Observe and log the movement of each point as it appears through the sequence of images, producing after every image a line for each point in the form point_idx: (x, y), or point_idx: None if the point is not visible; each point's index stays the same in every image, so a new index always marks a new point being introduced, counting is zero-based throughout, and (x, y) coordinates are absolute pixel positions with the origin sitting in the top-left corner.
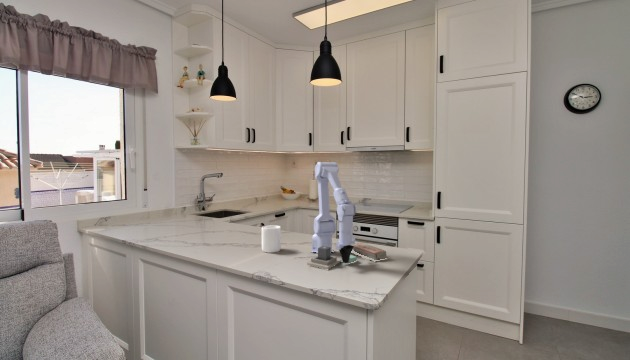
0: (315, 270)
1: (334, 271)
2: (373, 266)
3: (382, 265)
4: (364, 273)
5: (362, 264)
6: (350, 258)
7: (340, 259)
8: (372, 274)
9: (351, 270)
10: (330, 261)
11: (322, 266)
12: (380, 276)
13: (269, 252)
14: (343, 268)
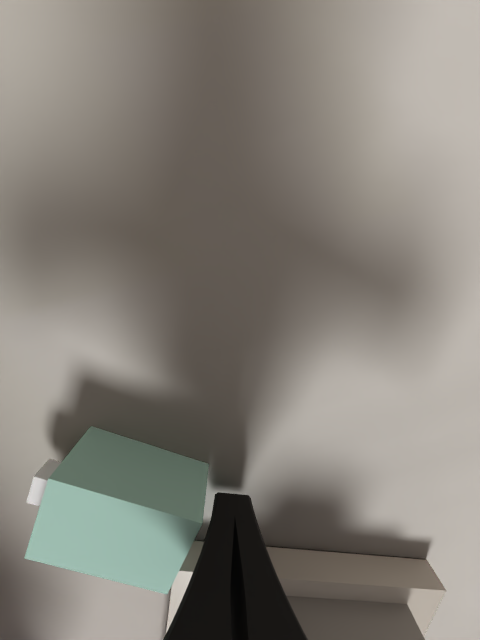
0: (455, 616)
1: (440, 508)
2: (125, 208)
3: (9, 89)
4: (415, 247)
5: (128, 351)
6: (174, 519)
7: (175, 578)
8: (423, 143)
9: (367, 396)
10: (362, 634)
11: (425, 622)
12: (469, 10)
13: None
14: (338, 473)
